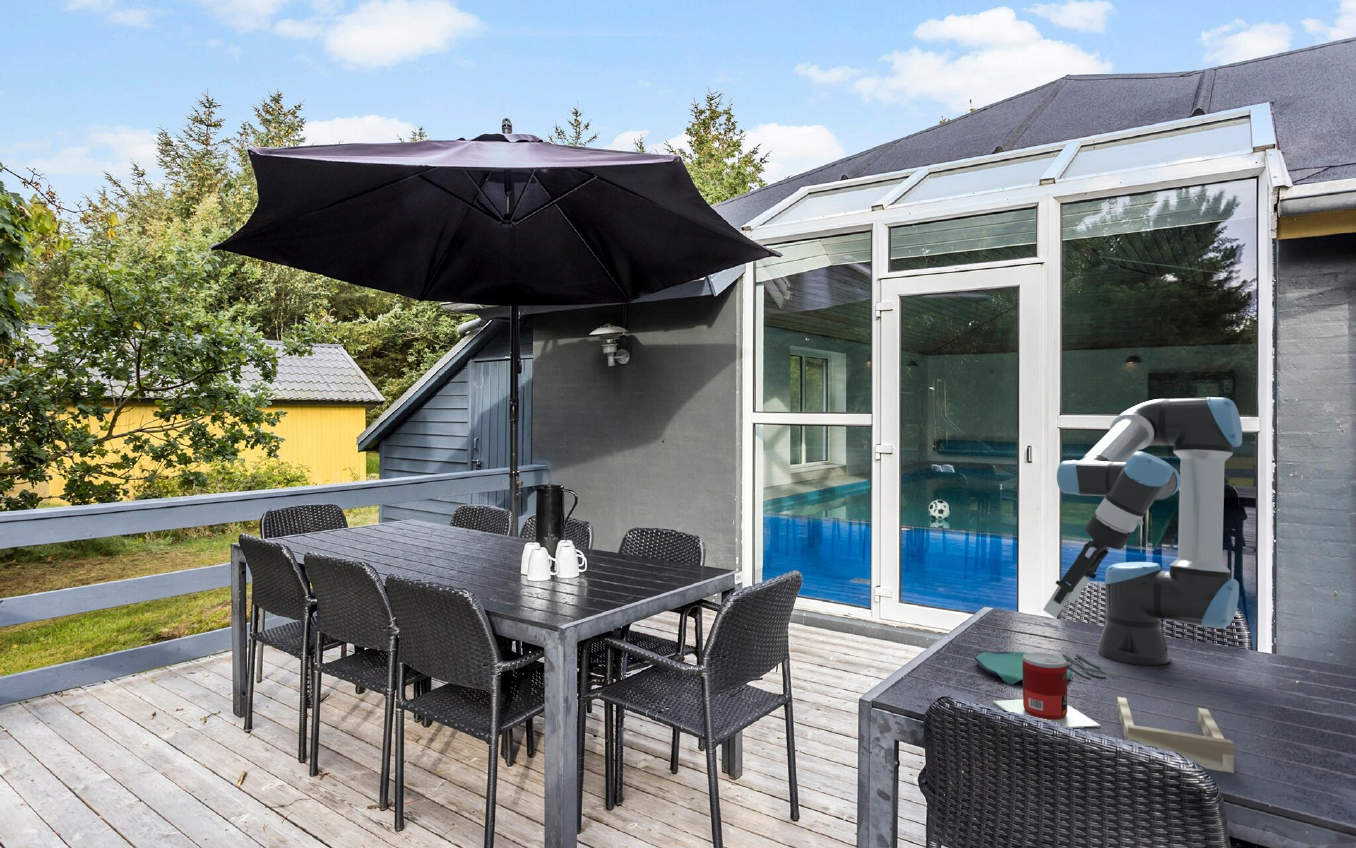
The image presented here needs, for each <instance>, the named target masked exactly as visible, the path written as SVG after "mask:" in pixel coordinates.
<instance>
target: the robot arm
mask: <svg viewBox="0 0 1356 848" xmlns="http://www.w3.org/2000/svg"><path fill="white" fill-rule="evenodd" d="M1242 443H1243V427H1242V421H1241V417H1240V414H1239V410H1238V408H1237V405H1236V403H1235V402H1234V400H1231V399H1230V398H1227V397H1211V396H1207V397H1206V396H1205V397H1186V398H1158V399H1152V400H1148V401H1145V402H1141V403H1139V404H1136V405H1135V406H1132V407H1130V408H1128V409H1127V410H1125V411H1123V412H1121V413H1120V414H1119V415H1118V416H1116V417H1115V419H1114V420H1113V421H1112V422H1111V424H1110V427H1109V431H1108V432H1107V433H1105V435H1104V436H1103V437H1102V438H1101V439H1100V440H1099V441H1098V442H1096V444H1095V445H1094V446H1093V447H1092V448H1091V449H1090V450H1089V451H1088V452H1087V453H1086V454H1084V456H1083V457H1082V458H1081V459H1080V460H1076V459H1072V460H1063V461H1061V463H1060V464H1059V466H1058V467H1057V469H1056V471H1057V472H1056V481H1057V483H1056V484H1057V487H1058V488H1059V491H1061V492H1062V493H1064V494H1070V495H1077V496H1093V497H1094V496H1095V497H1104V498H1103V499H1102V500H1101V502H1100V504H1099V505H1098V507H1097V508H1096V510H1095V511H1094V512H1095V515H1093V516H1091V518H1090V520H1089V522H1088V523H1087V525H1086V526H1085V528H1084V529H1085V533H1086V534H1087V535H1088V536H1090V537H1091V538H1092V540H1089V541H1088V542H1086V543H1085V544H1084V545H1083V547H1082V549H1081V552H1080V553H1079V554H1078V556H1077V557H1076V559H1075V561H1074V562H1073V563H1072V564H1071V566H1070V567H1069V569H1068V570H1067V572H1066V573H1065V575H1064V576H1063V577H1062V579H1061V580H1056V581H1055V585H1057V588H1056V589H1055V590H1054V592H1053V594H1052V595H1051V596H1050V598H1049V600H1048V602H1047V603H1046V604H1045V606H1044V608H1043V609H1042V610H1043V611H1044V612H1045V613H1047V614H1048V615H1050V616H1052V617H1053V618H1055V619H1056V618H1057V617H1058V616H1059V614H1060V612H1061V611H1062V609H1063V608H1064V607H1065V605H1066V604H1067V602H1068V601H1069V602H1071V603H1073V604H1074V603H1075V602H1076V600H1077V599H1078V598H1079V596H1080V595H1081V593H1082V591H1083V590H1084V589H1085V587H1086V585H1087V584H1088V583H1089V581H1090V579H1092V580H1095V579H1096V577H1097V574H1095V573H1096V572H1097V569H1098V568H1099V567H1100V565H1101V563H1102V561H1103V560H1104V559H1105V557H1107V555H1108V554H1109V549H1110V548H1111V549H1113V550H1122V549H1123V548H1124V547H1125V545H1126V543H1127V542H1128V541H1129V539H1130V538H1131V533H1133V532H1134V531H1135V530H1136V528H1137V527H1138V525H1139V526H1143V525H1144V521H1143V520H1142V519H1143V518H1144V516H1146V514H1147V512H1148V510H1149V509H1150V508H1151V506H1152V505H1153V504H1154V502H1155V501H1156V500H1164V499H1168V498H1170V497H1172V496H1173V495H1175V494H1176V492H1178V491H1179V504H1178V535H1177V536H1178V539H1177V541H1178V542H1177V546H1178V547H1177V558H1176V559H1175V560H1174V561H1172V562H1171V563H1170V564H1169V570H1167V571H1166V570H1162V567H1161V565H1160V564H1159V563H1156V562H1153V561H1152V562H1151V561H1129V562H1118V563H1113V564H1110V565H1109V566H1107V568H1106V571H1105V581H1104V585H1105V624H1104V626H1103V629H1102V631H1101V636H1100V639H1099V640H1098V646H1097V647H1098V653H1099V654H1101V656H1103V657H1106V658H1109V659H1111V660H1115V661H1118V662H1120V663H1121V662H1122V663H1127V664H1133V665H1140V664H1143V665H1142V666H1160V665H1161V664H1162V665H1166V664H1169V662H1170V661H1171V659H1170V658H1171V655H1170V654H1171V653H1170V649H1169V648H1168V644H1167V641H1166V639H1165V636H1164V633H1163V631H1162V626H1161V625H1162V623H1161V622H1162V620H1165V621H1172V622H1176V623H1177V622H1178V623H1183V624H1190V625H1195V626H1201V627H1202V628H1206V627H1207V628H1216V629H1226V628H1227V627H1229V625H1231V624H1232V623H1233V620H1234V617H1235V614H1236V612H1237V608H1238V603H1239V599H1240V598H1239V597H1240V583H1239V582H1238V580H1236V579H1234V578H1231V570H1230V569H1229V568H1228V567H1227V566H1226V565H1225V564H1224V563H1223V562H1224V561H1223V548H1224V547H1223V546H1224V545H1223V544H1224V543H1223V542H1224V539H1223V538H1224V504H1225V502H1224V500H1225V499H1224V498H1225V462H1226V461H1227V460H1228V459H1229V458H1230V457H1232V456H1233V454H1234V448H1237V447H1240V446H1241V445H1242ZM1149 446H1173V448H1172V449H1173V454H1175V456H1176V457H1177V458H1179V459H1180V465H1179V467H1180V468H1179V469H1180V470H1179V471H1180V473H1179V472H1178V470H1177V469H1176V468H1175V467H1173V466H1172V465H1171V464H1170V463H1168V462H1167V461H1165V460H1163V459H1162V458H1160V457H1157V456H1155V455H1153V454H1152V453H1151V454H1150V453H1147V452H1145V451H1141V450H1143V449H1145V448H1147V447H1149Z"/></svg>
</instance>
